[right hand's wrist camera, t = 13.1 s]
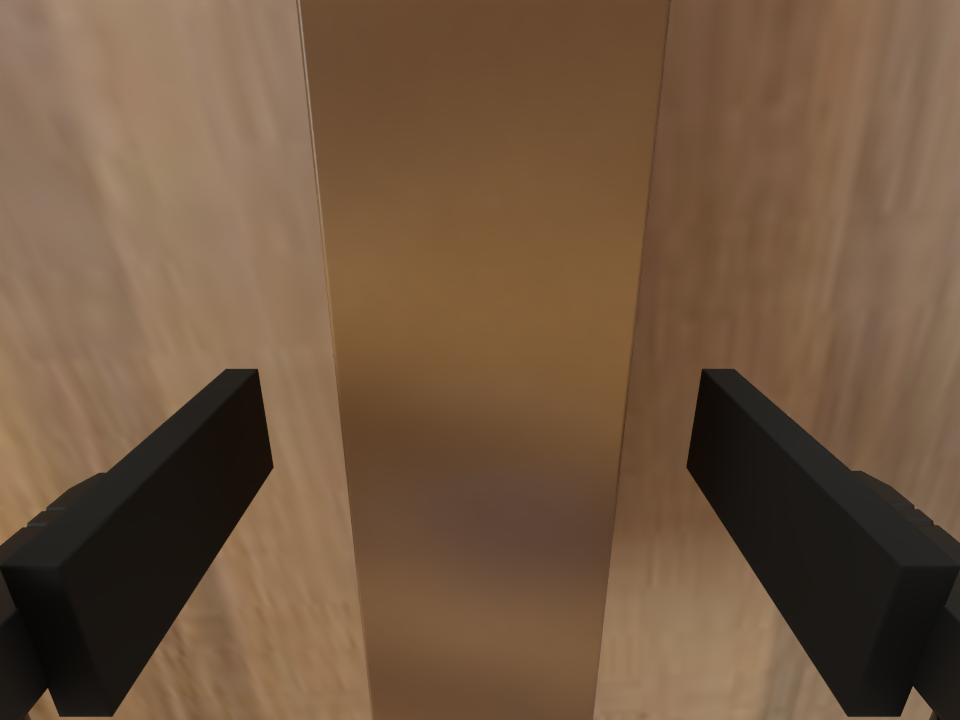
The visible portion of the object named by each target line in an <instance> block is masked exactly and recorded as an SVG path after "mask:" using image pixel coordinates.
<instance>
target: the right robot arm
mask: <svg viewBox="0 0 960 720" xmlns="http://www.w3.org/2000/svg"><path fill="white" fill-rule="evenodd" d="M273 468H274V467H273V461H272V454H271V448H270V442H269V436H268V429H267V423H266V417H265V411H264V404H263V398H262V392H261V386H260V379H259V373H258V369H225V370H224V371H223V372H222V373H221V374H220V375H219V376H217V377H216V378H215V379H214V380H213V381H212V382H210V383H209V384H208V385H207V386H206V387H205V388H204V389H202V390H201V391H200V392H199V393H198V394H197V395H195V396H194V397H193V398H192V399H191V400H190V401H189V402H187V403H186V404H185V405H184V406H183V407H182V408H181V409H179V410H178V411H177V412H176V413H175V414H174V415H172V416H171V417H170V418H169V419H168V420H167V421H166V422H164V423H163V424H162V425H161V426H160V427H159V428H157V429H156V430H155V431H154V432H153V433H152V434H151V435H149V436H148V437H147V438H146V439H145V440H144V441H143V442H141V443H140V444H139V445H138V446H137V447H136V448H134V449H133V450H132V451H131V452H130V453H129V454H128V455H126V456H125V457H124V458H123V459H122V460H121V461H119V462H118V463H117V464H116V465H115V466H114V467H113V468H111V469H110V470H109V471H108V472H107V473H98V474H96V475H94V476H92V477H91V478H89V479H87V480H85V481H83V482H81V483H79V484H77V485H75V486H73V487H72V488H70V489H68V490H67V491H66V492H65V493H63V494H62V495H61V496H60V497H59V498H57V499H56V500H55V501H54V502H53V503H51V504H50V505H49V506H48V507H47V510H46V511H42V512H41V513H39V514H38V515H37V516H36V517H35V518H33V519H32V520H31V521H30V522H28V523H27V527H26V528H21V529H20V530H19V531H18V532H16V533H15V534H14V535H13V536H12V537H10V538H9V539H8V540H7V541H6V542H4V543H3V544H2V545H1V546H0V720H31V719H30V717H29V714H28V712H29V711H30V709H31V708H32V707H33V706H34V704H35V703H36V702H37V701H38V699H39V698H40V697H41V696H42V694H43V693H44V692H45V691H46V689H47V688H48V689H49V691H50V694H51V696H52V699H53V701H54V704H55V706H56V709H57V711H58V714H59V716H60V717H112V716H113V715H114V713H115V712H116V710H117V709H118V707H119V705H120V704H121V702H122V701H123V699H124V698H125V696H126V695H127V693H128V692H129V690H130V689H131V687H132V685H133V684H134V682H135V681H136V679H137V678H138V676H139V675H140V673H141V672H142V670H143V668H144V667H145V665H146V664H147V662H148V661H149V659H150V658H151V656H152V655H153V653H154V651H155V650H156V648H157V647H158V645H159V644H160V642H161V641H162V639H163V638H164V636H165V634H166V633H167V631H168V630H169V628H170V627H171V625H172V624H173V622H174V621H175V619H176V617H177V616H178V614H179V613H180V611H181V610H182V608H183V607H184V605H185V604H186V602H187V600H188V599H189V597H190V596H191V594H192V593H193V591H194V590H195V588H196V587H197V585H198V583H199V582H200V580H201V579H202V577H203V576H204V574H205V573H206V571H207V570H208V568H209V566H210V565H211V563H212V562H213V560H214V559H215V557H216V556H217V554H218V553H219V551H220V549H221V548H222V546H223V545H224V543H225V542H226V540H227V539H228V537H229V536H230V534H231V532H232V531H233V529H234V528H235V526H236V525H237V523H238V522H239V520H240V519H241V517H242V515H243V514H244V512H245V511H246V509H247V508H248V506H249V505H250V503H251V502H252V500H253V498H254V497H255V495H256V494H257V492H258V491H259V489H260V488H261V486H262V485H263V483H264V481H265V480H266V478H267V477H268V475H269V474H270V472H271V471H272V469H273ZM686 468H687V469H688V471H689V472H690V474H691V475H692V477H693V478H694V480H695V481H696V483H697V485H698V486H699V488H700V489H701V491H702V492H703V494H704V495H705V497H706V498H707V500H708V502H709V503H710V505H711V506H712V508H713V509H714V511H715V512H716V514H717V515H718V517H719V519H720V520H721V522H722V523H723V525H724V526H725V528H726V529H727V531H728V532H729V534H730V536H731V537H732V539H733V540H734V542H735V543H736V545H737V546H738V548H739V549H740V551H741V553H742V554H743V556H744V557H745V559H746V560H747V562H748V563H749V565H750V566H751V568H752V570H753V571H754V573H755V574H756V576H757V577H758V579H759V580H760V582H761V583H762V585H763V587H764V588H765V590H766V591H767V593H768V594H769V596H770V597H771V599H772V600H773V602H774V603H775V605H776V607H777V608H778V610H779V611H780V613H781V614H782V616H783V617H784V619H785V620H786V622H787V624H788V625H789V627H790V628H791V630H792V631H793V633H794V634H795V636H796V637H797V639H798V641H799V642H800V644H801V645H802V647H803V648H804V650H805V651H806V653H807V654H808V656H809V658H810V659H811V661H812V662H813V664H814V665H815V667H816V668H817V670H818V671H819V673H820V675H821V676H822V678H823V679H824V681H825V682H826V684H827V685H828V687H829V688H830V690H831V692H832V693H833V695H834V696H835V698H836V699H837V701H838V702H839V704H840V705H841V707H842V709H843V710H844V712H845V713H846V715H847V716H848V717H900V716H901V714H902V711H903V709H904V706H905V704H906V701H907V699H908V696H909V694H910V691H911V689H912V687H913V686H914V688H915V689H916V690H917V691H918V693H919V694H920V695H921V696H922V697H923V699H924V700H925V701H926V702H927V704H928V705H929V706H930V707H931V709H932V710H933V712H932V714H931V717H930V719H929V720H960V543H959V542H958V541H957V540H955V539H954V538H953V537H952V536H951V535H949V534H948V533H947V532H946V531H945V530H943V529H942V528H941V527H940V526H938V525H934V524H933V521H932V520H931V519H930V518H929V517H928V516H926V515H925V514H924V513H923V512H921V511H920V510H919V509H915V508H914V505H913V504H912V503H911V502H909V501H908V500H907V499H906V498H904V497H903V496H902V495H901V494H900V493H898V492H897V491H896V490H895V489H893V488H892V487H891V486H889V485H887V484H885V483H883V482H881V481H879V480H878V479H876V478H874V477H872V476H870V475H868V474H866V473H864V472H862V471H851V470H850V469H849V468H847V467H846V466H845V465H844V464H843V463H842V462H841V461H839V460H838V459H837V458H836V457H835V456H834V455H832V454H831V453H830V452H829V451H828V450H827V449H826V448H824V447H823V446H822V445H821V444H820V443H819V442H817V441H816V440H815V439H814V438H813V437H812V436H811V435H809V434H808V433H807V432H806V431H805V430H804V429H803V428H801V427H800V426H799V425H798V424H797V423H796V422H794V421H793V420H792V419H791V418H790V417H789V416H788V415H786V414H785V413H784V412H783V411H782V410H781V409H779V408H778V407H777V406H776V405H775V404H774V403H773V402H771V401H770V400H769V399H768V398H767V397H766V396H765V395H763V394H762V393H761V392H760V391H759V390H758V389H756V388H755V387H754V386H753V385H752V384H751V383H750V382H748V381H747V380H746V379H745V378H744V377H743V376H741V375H740V374H739V373H738V372H737V371H736V370H735V369H702V373H701V379H700V386H699V392H698V398H697V404H696V411H695V417H694V423H693V429H692V436H691V442H690V448H689V454H688V461H687V467H686Z"/></svg>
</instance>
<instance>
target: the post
mask: <svg viewBox="0 0 960 720" xmlns="http://www.w3.org/2000/svg"><path fill="white" fill-rule="evenodd" d="M296 3H297V13H298V22H299V32H300V41H301V50H302V60H303V69H304V79H305V88H306V98H307V107H308V117H309V126H310V136H311V145H312V155H313V164H314V174H315V183H316V193H317V202H318V211H319V221H320V230H321V240H322V249H323V259H324V268H325V278H326V287H327V297H328V306H329V316H330V325H331V335H332V344H333V353H334V363H335V372H336V382H337V391H338V401H339V410H340V420H341V429H342V439H343V448H344V458H345V467H346V477H347V486H348V495H349V505H350V514H351V524H352V533H353V543H354V552H355V562H356V571H357V581H358V590H359V600H360V609H361V619H362V628H363V638H364V647H365V656H366V666H367V675H368V685H369V694H370V704H371V713H372V720H593V714H594V705H595V695H596V686H597V677H598V668H599V658H600V649H601V640H602V631H603V621H604V612H605V603H606V594H607V584H608V575H609V566H610V557H611V548H612V538H613V529H614V520H615V511H616V501H617V492H618V483H619V474H620V464H621V455H622V446H623V437H624V428H625V418H626V409H627V400H628V391H629V381H630V372H631V363H632V354H633V344H634V335H635V326H636V317H637V308H638V298H639V289H640V280H641V271H642V261H643V252H644V243H645V234H646V224H647V215H648V206H649V197H650V187H651V178H652V169H653V160H654V151H655V141H656V132H657V123H658V114H659V104H660V95H661V86H662V77H663V67H664V58H665V49H666V40H667V31H668V21H669V12H670V3H671V0H296Z"/></svg>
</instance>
